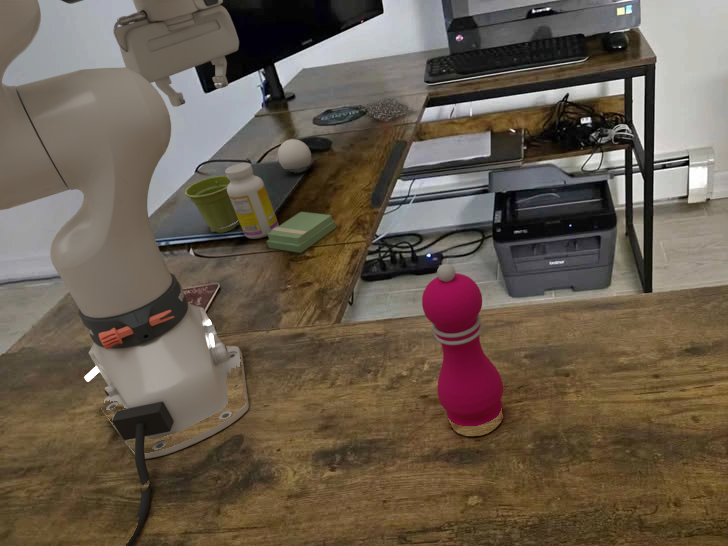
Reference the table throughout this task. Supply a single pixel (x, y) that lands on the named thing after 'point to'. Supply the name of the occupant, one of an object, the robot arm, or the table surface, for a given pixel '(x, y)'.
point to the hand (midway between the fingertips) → (201, 96)
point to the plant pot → (214, 202)
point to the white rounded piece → (294, 155)
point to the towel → (300, 232)
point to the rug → (384, 109)
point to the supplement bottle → (250, 201)
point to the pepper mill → (462, 349)
